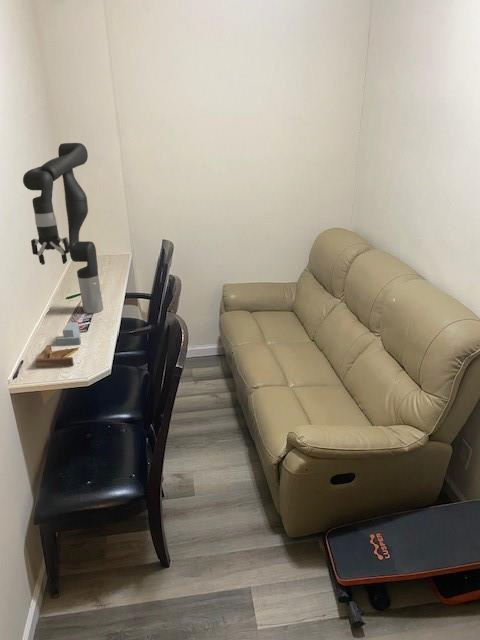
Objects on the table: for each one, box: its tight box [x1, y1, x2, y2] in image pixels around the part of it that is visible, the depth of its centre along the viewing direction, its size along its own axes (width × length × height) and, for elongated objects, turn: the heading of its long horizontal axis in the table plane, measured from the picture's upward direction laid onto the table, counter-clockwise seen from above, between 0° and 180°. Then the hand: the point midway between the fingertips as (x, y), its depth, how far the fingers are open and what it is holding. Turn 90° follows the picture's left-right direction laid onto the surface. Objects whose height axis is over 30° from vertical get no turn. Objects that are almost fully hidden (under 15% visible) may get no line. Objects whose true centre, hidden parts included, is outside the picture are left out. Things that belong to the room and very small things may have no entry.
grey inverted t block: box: [56, 321, 82, 347], centre depth 193 cm, size 10×9×6 cm
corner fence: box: [35, 344, 75, 369], centre depth 178 cm, size 13×13×3 cm
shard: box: [48, 347, 80, 358], centre depth 181 cm, size 11×8×2 cm
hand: (53, 263), depth 191 cm, fingers open, 8 cm apart
